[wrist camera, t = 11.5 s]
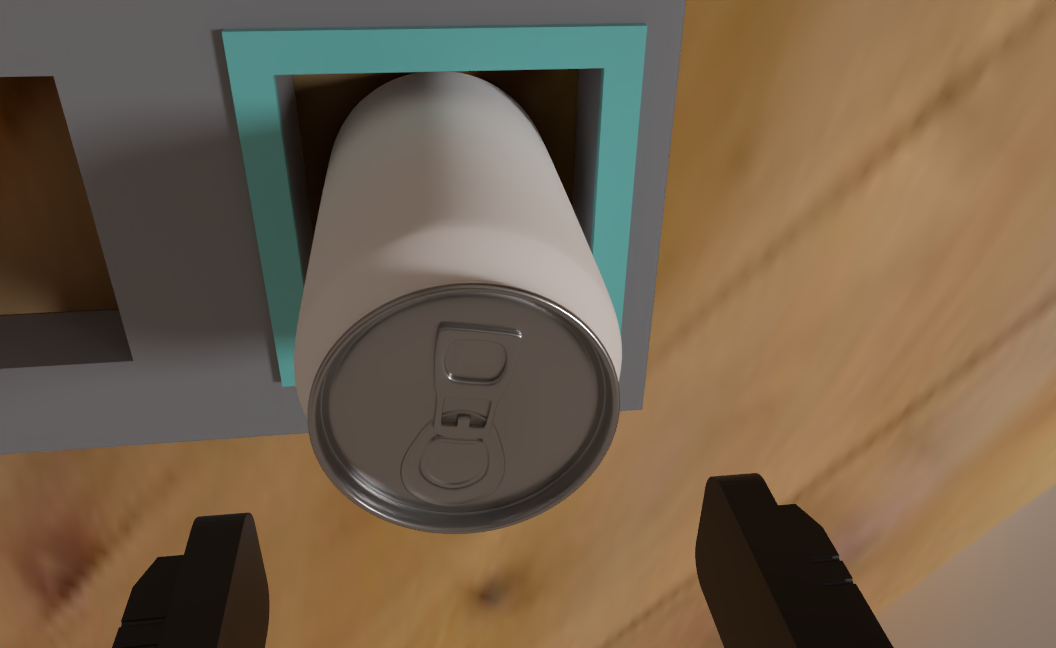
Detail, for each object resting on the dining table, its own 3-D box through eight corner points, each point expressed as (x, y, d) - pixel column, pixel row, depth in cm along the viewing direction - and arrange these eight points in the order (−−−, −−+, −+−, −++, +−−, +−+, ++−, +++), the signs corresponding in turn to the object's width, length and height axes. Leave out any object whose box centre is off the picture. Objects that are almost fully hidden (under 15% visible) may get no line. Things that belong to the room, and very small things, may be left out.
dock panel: (-400, -82, 19) (-534, -63, 16) (659, -81, 22) (696, -65, 19) (-150, 406, 27) (-214, 476, 24) (621, 358, 30) (644, 415, 27)
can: (321, 257, 26) (273, 543, 16) (338, 47, 23) (290, 239, 13) (524, 280, 27) (598, 557, 17) (566, 84, 24) (687, 284, 14)
